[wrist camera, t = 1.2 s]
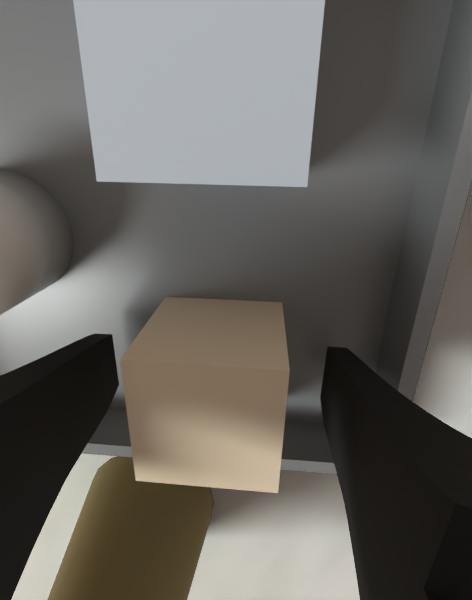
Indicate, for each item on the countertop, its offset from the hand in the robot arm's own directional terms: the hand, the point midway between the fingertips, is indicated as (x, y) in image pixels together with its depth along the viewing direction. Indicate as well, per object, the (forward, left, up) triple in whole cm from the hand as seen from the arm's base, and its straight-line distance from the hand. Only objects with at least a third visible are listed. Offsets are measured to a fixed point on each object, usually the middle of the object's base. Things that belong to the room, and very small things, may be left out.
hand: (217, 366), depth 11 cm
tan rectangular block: (0, 0, -1) cm, 1 cm away
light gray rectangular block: (0, -8, -1) cm, 8 cm away
